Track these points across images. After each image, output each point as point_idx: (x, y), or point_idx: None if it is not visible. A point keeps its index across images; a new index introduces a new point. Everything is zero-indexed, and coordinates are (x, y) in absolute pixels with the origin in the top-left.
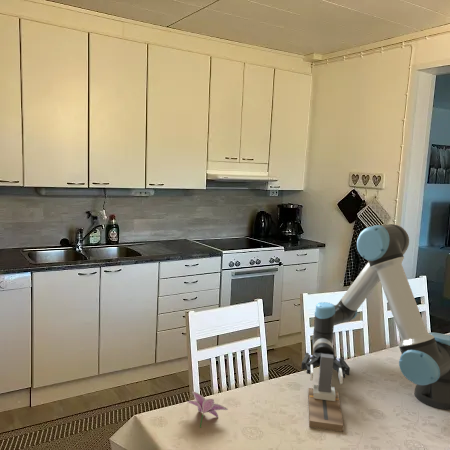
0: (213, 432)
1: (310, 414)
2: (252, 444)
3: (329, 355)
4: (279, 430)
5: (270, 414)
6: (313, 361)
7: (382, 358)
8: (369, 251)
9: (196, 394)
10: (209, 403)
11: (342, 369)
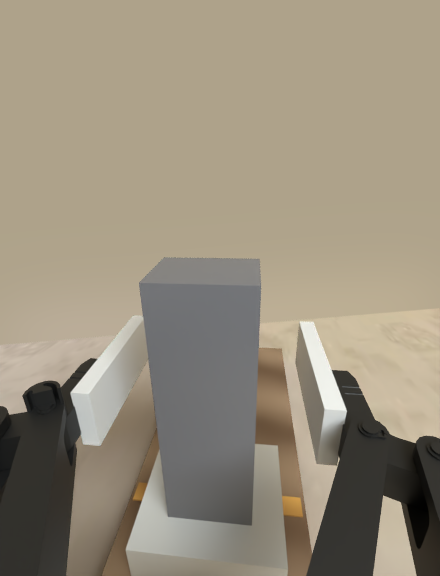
0: None
1: (281, 371)
2: (386, 314)
3: (181, 274)
4: (353, 347)
5: (419, 401)
6: (339, 507)
7: None
8: None
9: None
10: None
11: (60, 405)
